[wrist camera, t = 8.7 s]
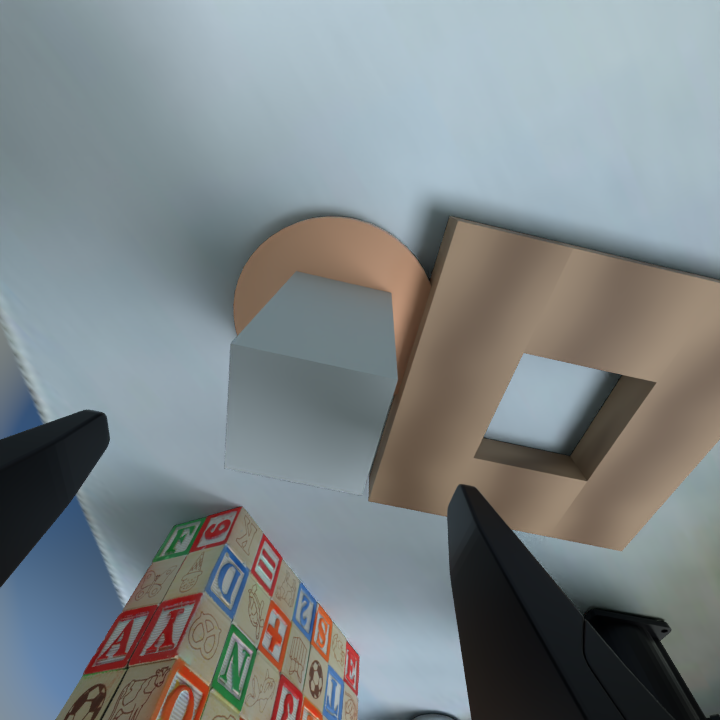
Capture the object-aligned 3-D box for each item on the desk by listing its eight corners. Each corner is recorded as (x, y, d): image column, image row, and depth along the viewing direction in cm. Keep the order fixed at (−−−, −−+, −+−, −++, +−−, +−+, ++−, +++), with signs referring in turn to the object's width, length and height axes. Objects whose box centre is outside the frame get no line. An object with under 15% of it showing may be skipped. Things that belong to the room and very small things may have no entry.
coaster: (463, 243, 16) (467, 246, 16) (405, 417, 21) (405, 426, 20) (245, 192, 16) (238, 193, 15) (234, 382, 20) (229, 389, 20)
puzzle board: (784, 295, 16) (832, 309, 15) (603, 523, 24) (621, 551, 22) (449, 215, 16) (458, 220, 14) (369, 476, 23) (368, 501, 21)
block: (391, 292, 17) (397, 379, 10) (369, 374, 19) (362, 496, 12) (296, 270, 16) (230, 343, 9) (284, 356, 18) (223, 468, 11)
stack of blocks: (362, 654, 34) (352, 884, 23) (303, 663, 35) (268, 884, 24) (241, 503, 25) (134, 754, 14) (171, 523, 27) (23, 766, 16)
